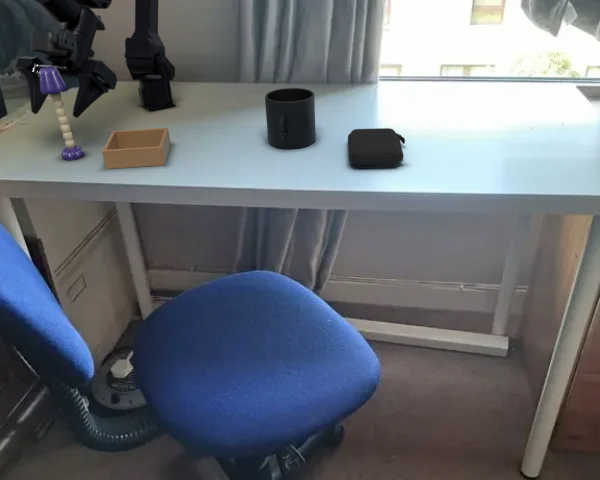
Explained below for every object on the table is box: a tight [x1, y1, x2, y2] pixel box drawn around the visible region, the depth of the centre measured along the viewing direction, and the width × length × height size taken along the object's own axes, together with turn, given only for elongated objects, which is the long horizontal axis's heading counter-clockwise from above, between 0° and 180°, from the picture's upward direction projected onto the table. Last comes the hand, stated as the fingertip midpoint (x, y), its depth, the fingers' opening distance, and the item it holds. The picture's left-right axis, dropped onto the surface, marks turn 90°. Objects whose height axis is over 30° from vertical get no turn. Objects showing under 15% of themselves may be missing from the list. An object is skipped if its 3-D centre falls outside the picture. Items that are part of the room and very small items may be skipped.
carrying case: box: [347, 127, 406, 169], centre depth 115 cm, size 11×3×15 cm
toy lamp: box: [39, 65, 85, 161], centre depth 116 cm, size 5×5×17 cm
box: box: [101, 127, 172, 170], centre depth 119 cm, size 11×11×4 cm
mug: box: [264, 87, 317, 150], centre depth 120 cm, size 9×12×9 cm
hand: (54, 114), depth 115 cm, fingers open, 9 cm apart
